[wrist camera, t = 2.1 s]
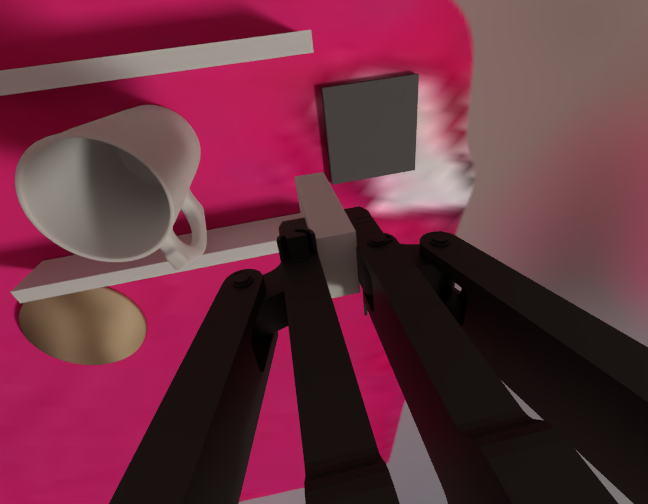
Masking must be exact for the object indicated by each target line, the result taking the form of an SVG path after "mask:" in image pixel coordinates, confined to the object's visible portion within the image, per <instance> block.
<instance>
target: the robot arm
mask: <svg viewBox="0 0 648 504" xmlns="http://www.w3.org/2000/svg"><path fill="white" fill-rule="evenodd" d="M295 183H296V189H297V195H298V200H299V206H300V212H301V218H298V219H293V220H287V221H282V223H281V224H280V226H279V236H278V237H277V240H276V241H277V246H278V250H279V254H280V259H281V263H280V265H279V266H278V267H277V268H275V269H274V270H273V271H271V272H269V273H266V274H264V275H262V274H261V272H260V271H257V270H255V269H245V270H240V271H237V272H235V273H233V274H231V275H230V276H228V277H227V278H226V279H225V281H224V282H223V284H222V286H221V288H220V290H219V292H218V293H217V295H216V297H215V299H214V301H213V303H212V305H211V307H210V309H209V311H208V313H207V315H206V317H205V319H204V321H203V323H202V324H201V326H200V328H199V330H198V332H197V334H196V336H195V338H194V340H193V342H192V344H191V346H190V348H189V350H188V352H187V354H186V356H185V357H184V359H183V361H182V363H181V365H180V367H179V369H178V371H177V373H176V375H175V377H174V379H173V381H172V383H171V385H170V387H169V388H168V390H167V392H166V394H165V396H164V398H163V400H162V402H161V404H160V406H159V408H158V410H157V412H156V414H155V416H154V418H153V420H152V421H151V423H150V425H149V427H148V429H147V431H146V433H145V435H144V437H143V439H142V441H141V443H140V445H139V447H138V449H137V451H136V452H135V454H134V456H133V458H132V460H131V462H130V464H129V466H128V468H127V470H126V472H125V474H124V476H123V478H122V480H121V482H120V483H119V485H118V487H117V489H116V491H115V493H114V495H113V497H112V499H111V501H110V503H109V504H238V503H239V499H240V495H241V490H242V486H243V482H244V478H245V474H246V469H247V465H248V461H249V457H250V452H251V448H252V444H253V440H254V435H255V431H256V427H257V423H258V418H259V414H260V410H261V406H262V401H263V397H264V393H265V389H266V385H267V380H268V376H269V372H270V368H271V363H272V359H273V355H274V351H275V346H276V342H277V338H278V330H280V329H282V328H284V327H286V326H289V334H290V343H291V351H292V360H293V369H294V377H295V386H296V394H297V403H298V412H299V420H300V429H301V438H302V446H303V455H304V463H305V476H306V477H305V482H304V484H305V500H306V504H399V501H398V497H397V494H396V491H395V488H394V485H393V482H392V479H391V476H390V473H389V470H388V468H387V466H386V463H385V461H384V460H383V459H382V458H381V456H380V454H379V451H378V448H377V445H376V442H375V438H374V435H373V432H372V428H371V425H370V422H369V419H368V415H367V412H366V409H365V406H364V402H363V399H362V396H361V393H360V389H359V386H358V383H357V379H356V376H355V373H354V370H353V366H352V363H351V360H350V357H349V353H348V350H347V347H346V343H345V340H344V337H343V334H342V330H341V327H340V324H339V321H338V317H337V314H336V311H335V307H334V304H333V301H332V298H335V297H340V296H345V295H349V294H354V293H359V292H360V284H361V287H362V289H363V302H364V315H365V316H366V315H367V310H368V312H369V315H370V317H371V319H372V322H373V324H374V326H375V329H376V331H377V334H378V336H379V338H380V341H381V343H382V345H383V348H384V350H385V352H386V355H387V357H388V360H389V362H390V364H391V367H392V369H393V371H394V374H395V376H396V378H397V381H398V383H399V386H400V388H401V390H402V393H403V395H404V397H405V400H406V402H407V404H408V407H409V409H410V412H411V414H412V416H413V419H414V421H415V423H416V426H417V428H418V430H419V433H420V435H421V437H422V440H423V442H424V445H425V447H426V449H427V452H428V454H429V456H430V459H431V461H432V463H433V466H434V468H435V471H436V473H437V475H438V478H439V480H440V482H441V485H442V487H443V489H444V492H445V495H446V498H447V502H448V504H618V503H617V501H616V500H615V499H614V498H613V496H612V495H611V494H610V493H609V491H608V490H607V489H606V488H605V486H604V485H603V484H602V483H601V481H600V480H599V479H598V478H597V476H596V475H595V474H594V473H593V471H592V470H591V469H590V468H589V466H588V465H587V464H586V463H585V461H584V460H583V459H582V458H581V456H580V455H579V454H578V453H577V451H578V452H579V453H580V454H581V455H582V456H583V457H584V458H585V459H586V460H587V461H589V462H590V463H591V464H592V465H593V466H594V467H595V468H596V469H597V470H598V471H600V472H601V474H603V475H604V476H605V477H606V478H607V479H608V480H609V481H610V482H611V483H612V484H613V485H614V486H615V487H617V488H618V489H619V490H620V491H621V492H622V493H623V494H624V495H625V496H626V497H627V498H628V499H629V500H630V501H632V502H633V503H634V504H648V347H646V346H644V345H643V344H641V343H639V342H638V341H636V340H634V339H632V338H631V337H629V336H627V335H626V334H624V333H622V332H620V331H619V330H617V329H615V328H613V327H612V326H610V325H608V324H607V323H605V322H603V321H601V320H600V319H598V318H596V317H595V316H593V315H591V314H589V313H588V312H586V311H584V310H582V309H581V308H579V307H577V306H576V305H574V304H572V303H570V302H569V301H567V300H565V299H564V298H562V297H560V296H558V295H557V294H555V293H553V292H551V291H550V290H548V289H546V288H545V287H543V286H541V285H539V284H538V283H536V282H534V281H533V280H531V279H529V278H527V277H526V276H524V275H522V274H520V273H519V272H517V271H515V270H514V269H512V268H510V267H508V266H507V265H505V264H503V263H502V262H500V261H498V260H496V259H495V258H493V257H491V256H489V255H488V254H486V253H484V252H483V251H481V250H479V249H477V248H476V247H474V246H472V245H471V244H469V243H467V242H465V241H464V240H462V239H460V238H458V237H457V236H455V235H453V234H450V233H446V232H442V231H438V232H437V231H436V232H430V233H427V234H425V235H423V236H422V237H421V239H420V244H400V243H399V242H398V241H397V239H396V238H395V237H393V236H392V235H390V234H387V233H383V232H382V231H381V229H380V228H379V226H378V225H377V223H376V222H375V221H374V219H373V218H372V217H371V215H370V213H369V212H368V210H366V209H364V208H362V207H360V206H359V207H354V208H348V209H343V207H342V205H341V203H340V202H339V200H338V198H337V196H336V194H335V193H334V191H333V189H332V187H331V185H330V183H329V182H328V180H327V178H326V176H325V174H324V173H323V172H320V173H314V174H308V175H303V176H297V177H295ZM359 282H360V283H359ZM455 283H457V284H458V285H459V286H460V287H461V288H462V290H461V291H459V290H457V289H456V288H455V287H454V286H455ZM502 381H503V382H504V383H505V384H506V385H507V386H508V387H509V388H510V389H511V390H512V391H513V392H514V393H516V394H517V395H518V396H519V397H520V398H521V399H522V400H523V401H524V402H525V403H526V404H527V405H529V407H531V408H532V409H533V410H534V411H535V412H536V413H537V414H538V415H539V416H540V417H541V418H542V419H543V420H544V421H543V420H536V419H532V418H531V417H529V416H528V415H527V414H526V413H525V412H524V411H523V410H522V408H521V407H520V406H519V404H518V403H517V402H516V400H515V399H514V398H513V396H512V395H511V394H510V392H509V391H508V390H507V388H506V387H505V385H504V384H503V383H502ZM574 448H575V449H576V450H577V451H576V450H575V449H574Z"/></svg>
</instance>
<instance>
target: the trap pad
mask: <svg viewBox="0 0 648 504" xmlns="http://www.w3.org/2000/svg"><path fill="white" fill-rule="evenodd" d="M418 79H419V74H409V75H403V76H396V77H389V78H382V79H376V80H369V81H362V82H356V83H349V84H342V85H336V86H329V87H322V88H321V91H322V101H323V110H324V120H325V129H326V138H327V148H328V157H329V166H330V176H331V183H332V185H333V184H338V183H344V182H350V181H355V180H361V179H366V178H372V177H378V176H383V175H389V174H394V173H400V172H405V171H411V170H415V152H416V128H417V103H418Z"/></svg>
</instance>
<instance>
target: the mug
mask: <svg viewBox="0 0 648 504" xmlns="http://www.w3.org/2000/svg"><path fill="white" fill-rule="evenodd" d="M200 155H201V150H200V144H199V140H198V138H197V135H196V133H195V132H194V130H193V128H192V127H191V126H190V124H189V123H188V122H187V121H186V120H185V119H184V118H183V117H181V116H180V115H179V114H177V113H176V112H174V111H172V110H170V109H168V108H165V107H162V106H157V105H141V106H137V107H134V108H130V109H126V110H123V111H120V112H118V113H115V114H112V115H109V116H106V117H103V118H100V119H97V120H95V121H92V122H89V123H86V124H83V125H80V126H77V127H74V128H71V129H69V130H66V131H64V132H62V133H59V134H55V135H51V136H48V137H45V138H43V139H41V140H39V141H37V142H35V143H34V144H32V145H31V146H30V147H29V148H28V149H27V150H26V151H25V152H24V154H23V155H22V157H21V158H20V160H19V162H18V165H17V168H16V173H15V188H16V193H17V197H18V200H19V202H20V205H21V207H22V209H23V211H24V212H25V214H26V216H27V217H28V218H29V220H30V221H31V222H32V224H33V225H34V226H35V227H36V228H37V229H38V230H39V231H40V232H41V233H42V234H43V235H44V236H46V237H47V238H48V239H50V240H51V241H52V242H54V243H55V244H57V245H58V246H60V247H62V248H64V249H66V250H67V251H70V252H72V253H74V254H77V255H79V256H82V257H85V258H89V259H93V260H97V261H104V262H127V261H133V260H137V259H140V258H143V257H146V256H148V255H150V254H152V253H153V252H155V251H156V250H158V249H160V250H161V251H162V252H163V253H164V255H165V258H166V260H167V261H168V262H169V263H170V264H171V265H172V266H173V268H174V269H176V270H181V269H183V268H185V267H186V266H187V265H188V264H189V263H191V262H193V261H195V260H197V259H198V258H200V257H201V256H202V255H203V253H204V251H205V249H206V244H207V231H206V222H205V215H204V209H203V207H202V205H201V204H200V203H199V202H198V200H197V199H196V198H195V197H194V195H193V194H192V193H191V191H190V189H189V187H190V185H191V183H192V180H193V178H194V176H195V173H196V171H197V168H198V165H199V162H200ZM180 209H181V210H182V212H183V213H184V215H185V216H186V218H187V220H188V222H189V225H190V227H191V231H192V242H191V244H190V245H187V244H184V243H183V242H182V241H181V240H180V239H179V238H178V237H177V236H176V235H175V233H174V231H173V225H174V223H175V221H176V219H177V217H178V214H179V212H180Z"/></svg>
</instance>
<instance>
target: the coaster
mask: <svg viewBox="0 0 648 504" xmlns="http://www.w3.org/2000/svg"><path fill="white" fill-rule="evenodd" d="M19 324H20V327H21V330H22V332H23V334H24V335H25V337H26V338H27V339H28V340H29V341H30V342H31V343H32V344H33V345H34V346H35V347H37V348H38V349H39V350H41V351H43V352H44V353H46V354H48V355H50V356H52V357H55V358H57V359H60V360H63V361H66V362H71V363H76V364H85V365H100V364H108V363H113V362H116V361H119V360H122V359H124V358H126V357H128V356H130V355H131V354H133V353H134V352H135V351H136V350H137V349H138V348H139V347H140V346H141V344H142V342H143V340H144V338H145V335H146V330H147V324H146V320H145V317H144V315H143V313H142V311H141V310H140V308H139V307H138V306H137V305H136V304H135V303H134V302H133V301H132V300H131V299H130V298H128V297H127V296H125V295H124V294H122V293H120V292H118V291H117V290H114V289H112V288H110V287H107V286H105V287H100V288H95V289H90V290H85V291H80V292H75V293H70V294H65V295H60V296H55V297H50V298H44V299H39V300H34V301H29V302H25V303H24V304H23V306H22V307H21V310H20V313H19Z"/></svg>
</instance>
